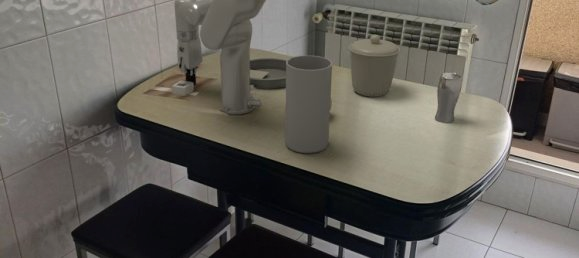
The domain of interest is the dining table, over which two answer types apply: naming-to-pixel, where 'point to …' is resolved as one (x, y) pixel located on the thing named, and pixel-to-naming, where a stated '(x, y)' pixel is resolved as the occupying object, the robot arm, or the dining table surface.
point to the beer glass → (447, 96)
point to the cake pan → (275, 69)
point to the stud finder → (182, 88)
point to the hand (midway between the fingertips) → (191, 84)
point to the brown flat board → (166, 85)
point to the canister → (373, 65)
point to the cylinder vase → (308, 103)
